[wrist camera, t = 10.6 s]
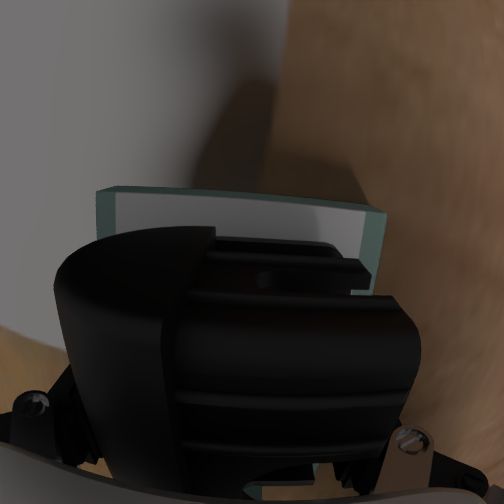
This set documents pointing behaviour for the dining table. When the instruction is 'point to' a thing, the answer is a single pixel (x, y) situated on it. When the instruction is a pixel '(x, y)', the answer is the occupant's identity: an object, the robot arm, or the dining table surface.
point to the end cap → (231, 358)
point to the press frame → (248, 223)
